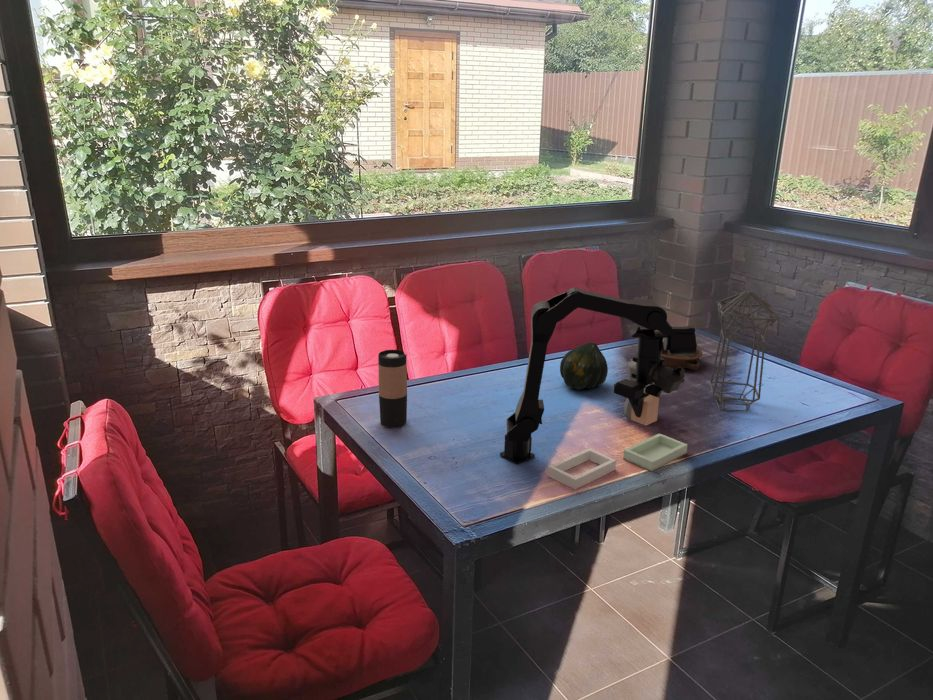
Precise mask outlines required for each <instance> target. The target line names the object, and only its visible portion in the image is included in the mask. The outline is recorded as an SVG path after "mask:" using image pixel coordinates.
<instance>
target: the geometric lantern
mask: <svg viewBox="0 0 933 700" xmlns="http://www.w3.org/2000/svg"><path fill="white" fill-rule="evenodd" d="M751 298H753V299H754V300H755V301H756V302H757V303H758V304H753V303H752V299H751ZM729 300H731V301H729ZM728 301H729V302H728ZM747 302H748V304H747ZM715 304H716V305H717V310H718V318H717V319H718V320H719V322H720V326H721V329H720V334H719V340H718V343H717V344H718V345H717V348H716V353H715V357H714V363H713V369H712V373H711V377H710V382H709V385H710V386H709V387H710V390H711V395H712V396H713V398H715V403H716V405H717V407H718V410H720V411H727V412H728V411H729V412H730V411H731V412H746V413H747V412H748V411H749V410H750V407H751V404H754V403H755V402H757V401H759V400H760V399H761V393H762V391H761V390H762V380H763V369H764V362H765V361H764V359H765V351H766V350H765V348H766V343H767V341H766V340H765V338H766V334H767V330H768V328H769V326H770V327H772V326H773V324H775V322H777V320H778V321H779V320H781V318H780V317H779V316H778V315H777V314H776V313H775V312H774V311H773V309H772V306H771V304H769V303H767V302H766V301H765V300H763V298H761V297H759V296H758V295H757V294H756V293H755V292H754V291H751V290H746V291H745V290H744V291H743V292H740V293H736V294H735V295H732V296H729V297H726V298H723V299H721V300H717V301H715ZM737 307H738V310H736V309H737ZM741 307H742V311H741ZM753 307H758V308H756V309H755V310H753ZM746 308H749V309H748V312H747V313H745V310H746ZM762 309H763V310H765V312H766V313H768V317H761V318H760V317H759V318H756V317H755V318H754V314H755V313H756V312H758V311H760V310H762ZM730 310H731V311H730ZM728 311H730V312H729V313H728V314H727V315H726V313H727V312H728ZM732 313H735V314H732ZM724 317H725V318H729V319H731V321H730V323H729V324H728V326H727V327H726V328H724V324H723V318H724ZM736 318H739V319H740V322H738V321H737V320H736ZM743 319H744V320H748V321H749V322H750V325H751V326H747V325H746V326H743ZM754 321H761V322H759V323H757V324H755V325H754ZM762 321H763V322H762ZM733 323H735V324H736V325H738V326H739V327H738V328H737V329H731V328H730V327H731V325H732V324H733ZM762 325H764V326H763V328H762V329H761V331H760V332H759V331H757V329H756V328H757V327H759V326H762ZM745 329H751V330H745ZM729 331H733V333H731V335H730V336H728V332H729ZM737 332H746V333H753V334H754V337H753V342H752V341H742V340H733V339H730V338H731V337H732V336H733V335H735V334H736V333H737ZM763 332H764V334H763ZM758 335H759V336H758ZM722 339H723V341H722ZM731 342H732V343H733V342H734V343H745V344H752V350H751V356H750V360H749V367H748V372H747V378H746V383H744V382H733V381H732V382H731V381H725V377H726V371H727V363H728V354H729V350H730V349H729V347H730V343H731ZM721 344H722V346H721ZM756 345H757V350H756V358H755V359H756V361H755V369H754V370H755V371H754V382H753V385H752V384H750V383H749V381H750V374H751V370H752V364H753V360H754V359H753V357H754V353H755V347H756ZM761 345H762V351H761ZM725 347H726V350H725ZM720 348H721V350H720ZM719 351H720V352H719ZM760 351H761V362H760V373H759V383H758V390H757V380H758V370H759V359H760ZM724 352H725V357H724ZM719 353H720V356H719ZM718 357H719V361H717V360H718ZM723 357H724V358H725V359H724V366H723V374H722V380H720V381H719V375H720V371H721V365H722V361H723ZM717 362H718V365H717ZM716 367H717V369H716ZM715 372H716V375H715ZM714 375H715V379H714ZM713 380H714V381H713ZM718 384H721V386H720V387H721V388H720V390H719V386H718ZM724 384H725V385H726V384H727V385H739V386H744V388H743V390H742V392H741V393H740V392H739V393H736V392H724ZM747 387H749V388H751V389H750V390H749V391H748V392H746V393H745V390H746V388H747ZM716 389H717V390H716ZM751 392H752V399H748V398H747V395H749V394H750V393H751ZM744 393H745V394H744ZM723 395H737V396H739V397H731V396H723ZM742 396H743V397H742ZM756 397H757V398H756ZM724 400H727V401H739V402H740V401H741V402H743V403H734V402H725V401H724ZM746 402H747V403H746ZM719 403H720V405H719ZM722 405H723V408H722ZM726 405H736V406H737V405H738V406H745V407H746V408H745V409H727V408H726Z"/></svg>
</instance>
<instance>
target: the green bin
mask: <svg viewBox="0 0 933 700" xmlns="http://www.w3.org/2000/svg"><path fill="white" fill-rule="evenodd" d="M687 452H688V444H687V443H686V442H685V443H684V442H682V441H679V440H678V439H675V438H672V437H670V436H667V435H665V434H661V433H656V434H654V435H653V436H650V437H648V438H646V439H644V440H642V441H640V442H638V443H635V444H633V445H632V446H630V447H627V448H625V449H624V450H623V457H622V459H623V460H624V461H627V462H630V463H632V464H633V465H636V466H638V467H639V468H643V469H645V470H646V471H647V470H648V471H650V472H653V471H656V470H657V469H659V468H661V467H663V466H665V465H667V464H669V463H671V462H672V461H674V460H676V459H678V458H680V457H682V456H684V455H686V454H687Z"/></svg>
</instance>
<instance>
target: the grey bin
mask: <svg viewBox="0 0 933 700" xmlns="http://www.w3.org/2000/svg"><path fill="white" fill-rule="evenodd" d="M587 461H591V462H593V463H595V464H597V466H595V467H593V468H590V469H589V470H587V471H585V472H582V473H580V474H578V475H577V476H574V475H572V474H571V473H569V472H566V471H568V470H569V469H572V468H574V467H576V466H579V465H581V464H582V463H585V462H587ZM616 468H617V459H614V458H612V457H610V456H608V455H605V454H603V453H601V452H598V451H597V450H594V449H592V448H590V447H588V448H586V449H584V450H581V451H579V452H577V453H575V454H573V455H571V456H568V457H565V458H564V459H561V460H559V461H557V462H555V463H552V464H551V465H549V466H548V467H547V477H549V478H551V479H553V480H556V481H557V482H559V483H561V484H563V485H565V486H567V487H570V488H571V489H573V490H577V489H579V488H581V487H583V486H585V485H587V484H589V483H592V482H593V481H595V480H598V479H599V478H601V477H603V476H605V475H608V474H609V473H611V472H613V471H615V470H616Z"/></svg>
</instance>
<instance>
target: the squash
mask: <svg viewBox="0 0 933 700" xmlns="http://www.w3.org/2000/svg"><path fill="white" fill-rule="evenodd" d="M608 371H609V367H608V362H607V359H606V357H605V356H604V354H603V352H602V351H601V350H600V348H599V345H597V343H596V342H593V341H590V342H585V343H582V344H580V345H578V346H576V347H574V348H573V349H571V350H569V351H568V352H567V353H565V354H564V355H563V357H562V359H561V361H560V364H559V373H560V376H561V378H562V379H563V382H564V384H565V386H566V387H567V388H569V389H577V390H584V389H585V388H586V389H593V388H596V387H599V386H602V385H603V384H604V383H605V382H606V379H607V377H608V373H609V372H608Z"/></svg>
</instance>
